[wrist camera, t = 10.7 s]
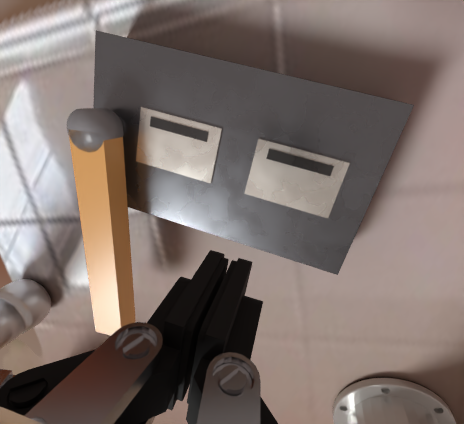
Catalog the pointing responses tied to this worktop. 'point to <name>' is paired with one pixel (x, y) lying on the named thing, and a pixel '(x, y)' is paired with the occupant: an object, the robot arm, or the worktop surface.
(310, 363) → the worktop surface
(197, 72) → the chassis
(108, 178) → the light orange bar
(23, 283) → the plastic bottle
